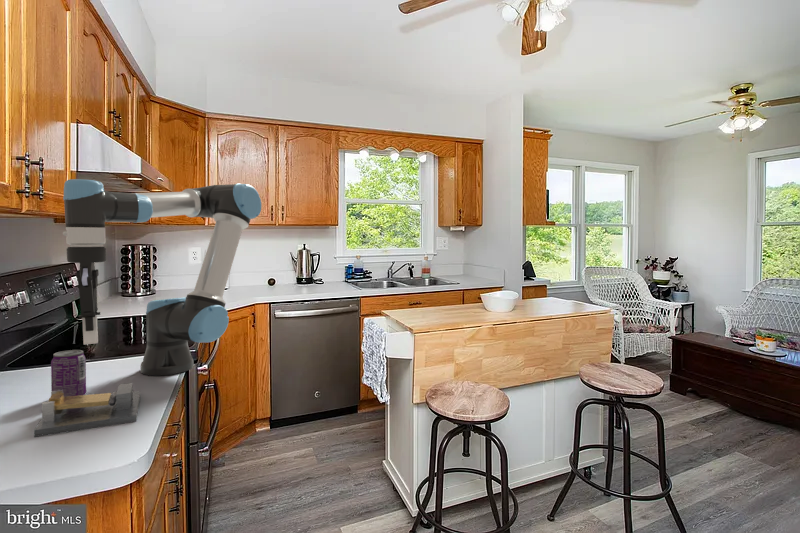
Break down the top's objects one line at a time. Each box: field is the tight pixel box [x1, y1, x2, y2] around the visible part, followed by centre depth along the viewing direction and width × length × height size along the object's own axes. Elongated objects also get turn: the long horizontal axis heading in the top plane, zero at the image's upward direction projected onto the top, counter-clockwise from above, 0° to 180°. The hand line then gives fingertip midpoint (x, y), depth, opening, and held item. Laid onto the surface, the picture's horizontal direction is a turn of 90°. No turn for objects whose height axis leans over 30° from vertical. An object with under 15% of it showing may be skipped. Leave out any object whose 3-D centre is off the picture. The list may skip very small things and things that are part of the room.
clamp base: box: [33, 382, 141, 438], centre depth 100 cm, size 18×18×6 cm
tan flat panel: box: [48, 391, 117, 410], centre depth 99 cm, size 7×13×2 cm, turn 119°
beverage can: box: [50, 349, 87, 397], centre depth 110 cm, size 7×7×12 cm
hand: (90, 343), depth 102 cm, fingers closed
